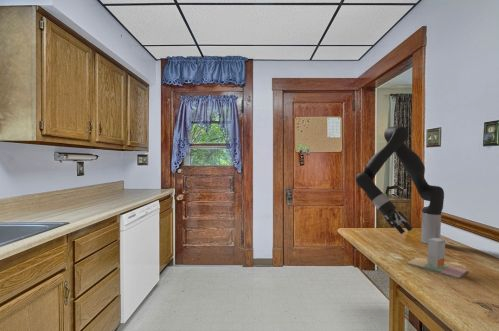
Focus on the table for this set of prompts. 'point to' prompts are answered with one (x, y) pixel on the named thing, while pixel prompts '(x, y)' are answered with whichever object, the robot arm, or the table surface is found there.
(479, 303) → the table surface
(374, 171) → the robot arm
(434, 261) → the skincare box
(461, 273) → the multicoloured flat board
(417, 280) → the table surface
